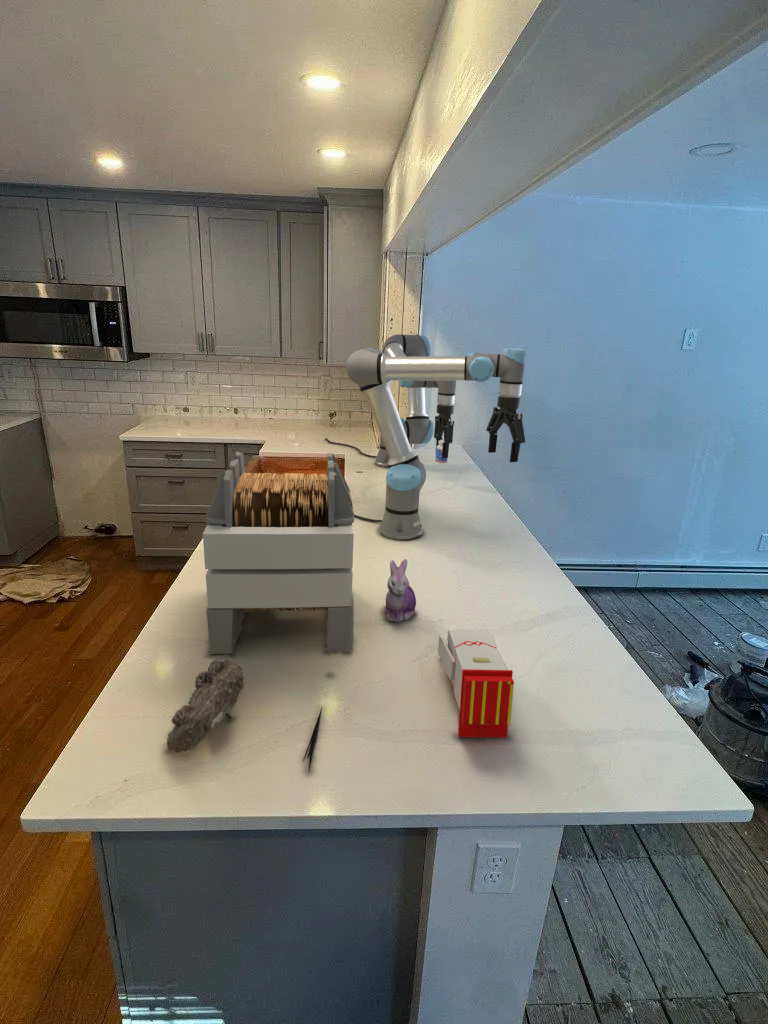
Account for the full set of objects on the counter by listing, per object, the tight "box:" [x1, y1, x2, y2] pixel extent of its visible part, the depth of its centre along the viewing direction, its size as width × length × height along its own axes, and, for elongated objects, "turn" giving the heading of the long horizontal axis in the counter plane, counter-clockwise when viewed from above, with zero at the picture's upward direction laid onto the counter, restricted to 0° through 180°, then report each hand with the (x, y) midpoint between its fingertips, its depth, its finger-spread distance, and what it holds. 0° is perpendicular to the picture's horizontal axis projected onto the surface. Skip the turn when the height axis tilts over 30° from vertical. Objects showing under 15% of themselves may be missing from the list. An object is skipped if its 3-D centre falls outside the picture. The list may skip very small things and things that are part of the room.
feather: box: [301, 673, 332, 771], centre depth 108 cm, size 2×28×2 cm
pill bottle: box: [434, 439, 448, 464], centre depth 256 cm, size 6×5×10 cm
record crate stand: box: [202, 451, 355, 655], centre depth 137 cm, size 34×33×41 cm
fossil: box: [166, 658, 245, 754], centre depth 106 cm, size 22×10×15 cm
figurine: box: [384, 558, 417, 623], centre depth 145 cm, size 9×10×15 cm
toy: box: [437, 628, 515, 738], centre depth 117 cm, size 12×13×30 cm
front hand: (502, 457), depth 199 cm, fingers open, 13 cm apart
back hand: (441, 456), depth 256 cm, fingers closed on pill bottle, 5 cm apart
